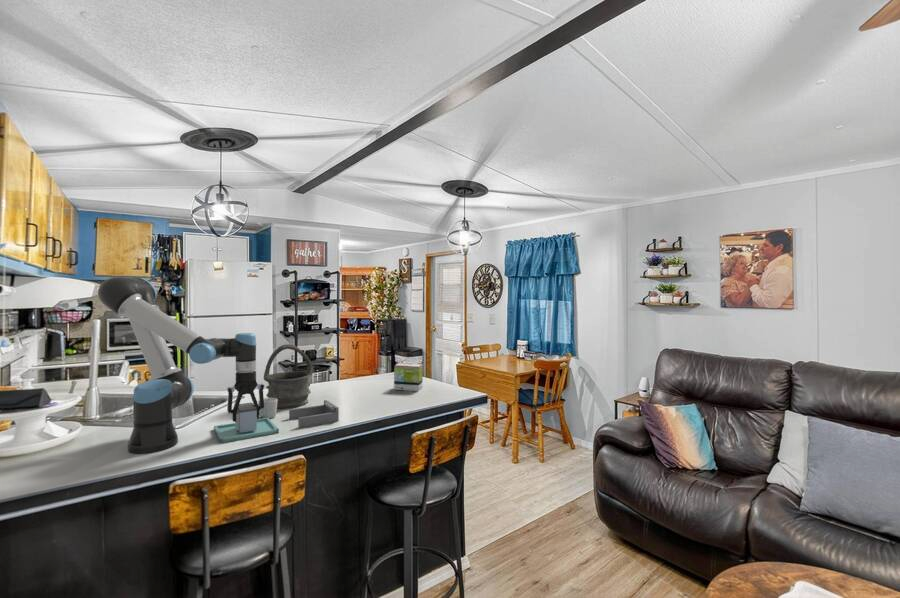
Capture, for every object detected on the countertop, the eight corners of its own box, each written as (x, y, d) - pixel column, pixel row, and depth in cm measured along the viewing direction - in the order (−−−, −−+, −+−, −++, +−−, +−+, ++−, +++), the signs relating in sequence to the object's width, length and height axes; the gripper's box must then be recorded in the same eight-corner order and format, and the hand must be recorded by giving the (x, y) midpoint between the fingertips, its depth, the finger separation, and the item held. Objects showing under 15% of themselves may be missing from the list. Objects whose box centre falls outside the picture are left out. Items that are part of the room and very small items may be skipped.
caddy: (240, 433, 167) (239, 410, 167) (235, 426, 176) (235, 404, 176) (256, 430, 171) (256, 407, 171) (251, 423, 179) (251, 402, 179)
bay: (299, 428, 178) (299, 413, 178) (289, 418, 191) (289, 405, 191) (338, 421, 188) (338, 407, 188) (326, 412, 201) (326, 400, 200)
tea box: (393, 390, 247) (393, 365, 246) (398, 386, 256) (398, 362, 256) (418, 391, 244) (419, 365, 244) (422, 387, 254) (423, 363, 254)
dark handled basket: (273, 398, 227) (273, 342, 227) (317, 398, 228) (317, 342, 228) (256, 409, 205) (256, 347, 205) (305, 409, 206) (305, 347, 205)
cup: (266, 422, 185) (266, 404, 185) (250, 421, 187) (250, 403, 187) (281, 415, 196) (281, 398, 196) (265, 414, 197) (265, 397, 197)
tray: (220, 443, 160) (220, 439, 160) (214, 429, 175) (214, 426, 175) (278, 432, 172) (278, 429, 172) (268, 421, 187) (268, 417, 187)
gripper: (220, 375, 164) (221, 434, 165) (272, 370, 175) (272, 425, 176) (218, 372, 171) (218, 429, 171) (268, 367, 181) (268, 421, 182)
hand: (246, 427), depth 173 cm, fingers closed on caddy, 6 cm apart
